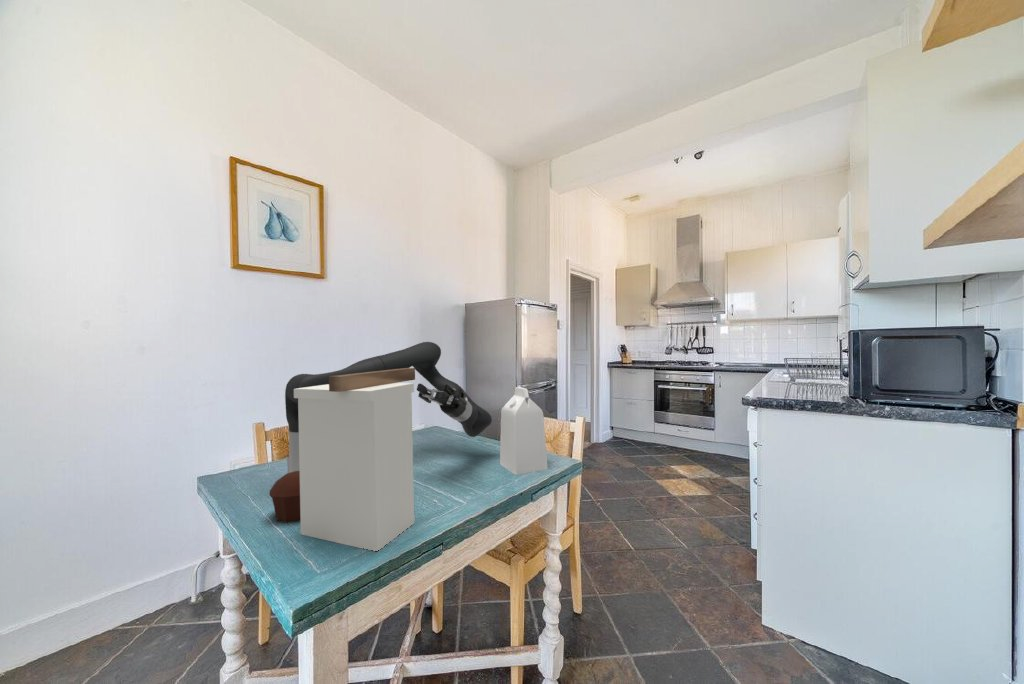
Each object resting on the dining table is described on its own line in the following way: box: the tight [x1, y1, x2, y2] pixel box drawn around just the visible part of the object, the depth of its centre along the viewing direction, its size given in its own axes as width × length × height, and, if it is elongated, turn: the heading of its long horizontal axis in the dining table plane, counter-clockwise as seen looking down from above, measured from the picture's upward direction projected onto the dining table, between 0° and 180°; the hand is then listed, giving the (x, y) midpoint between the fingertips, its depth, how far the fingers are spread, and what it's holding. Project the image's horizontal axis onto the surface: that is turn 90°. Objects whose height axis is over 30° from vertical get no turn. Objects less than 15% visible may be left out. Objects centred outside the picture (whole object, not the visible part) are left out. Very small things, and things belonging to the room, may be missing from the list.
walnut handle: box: [329, 367, 416, 392], centre depth 83 cm, size 3×24×3 cm, turn 159°
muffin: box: [269, 471, 301, 523], centre depth 89 cm, size 12×11×10 cm
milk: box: [499, 386, 549, 476], centre depth 120 cm, size 12×12×26 cm
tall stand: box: [294, 382, 415, 552], centre depth 81 cm, size 21×14×32 cm, turn 69°
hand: (431, 386), depth 103 cm, fingers open, 8 cm apart
